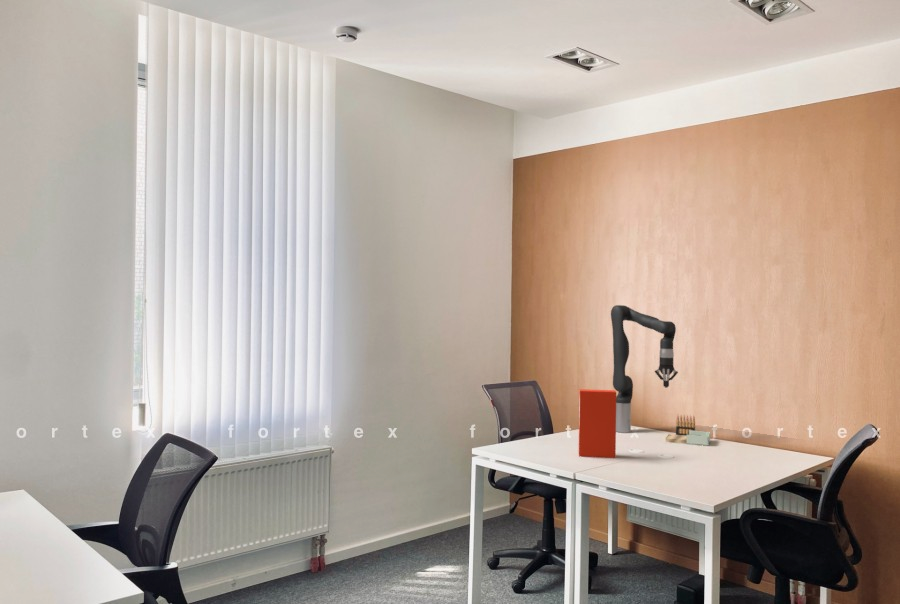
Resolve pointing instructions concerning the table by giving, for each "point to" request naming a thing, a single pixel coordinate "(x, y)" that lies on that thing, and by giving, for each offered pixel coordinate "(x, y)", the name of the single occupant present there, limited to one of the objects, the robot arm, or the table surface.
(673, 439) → the bench plate
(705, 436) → the box
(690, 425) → the ammunition clip
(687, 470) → the table surface
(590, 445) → the file binder
